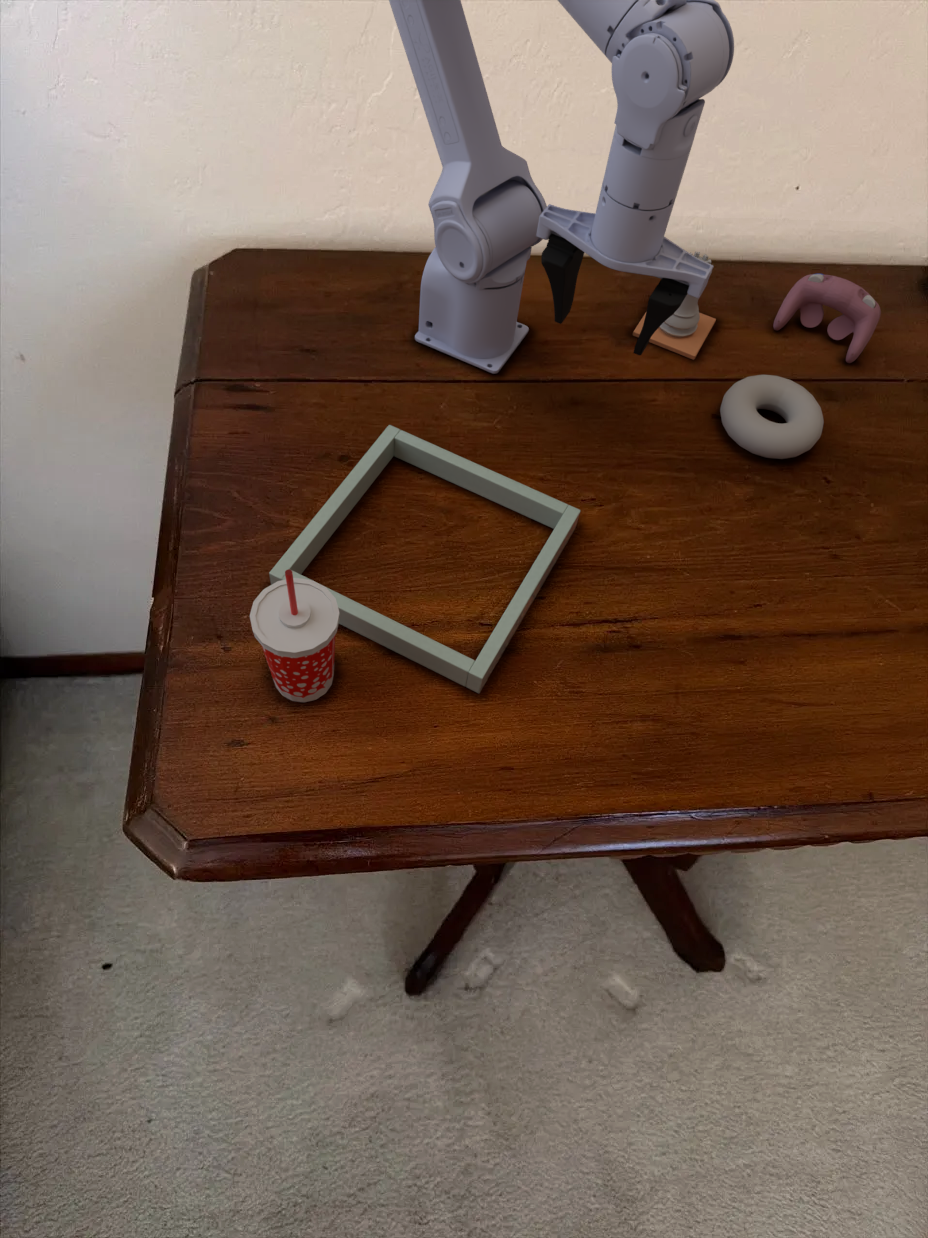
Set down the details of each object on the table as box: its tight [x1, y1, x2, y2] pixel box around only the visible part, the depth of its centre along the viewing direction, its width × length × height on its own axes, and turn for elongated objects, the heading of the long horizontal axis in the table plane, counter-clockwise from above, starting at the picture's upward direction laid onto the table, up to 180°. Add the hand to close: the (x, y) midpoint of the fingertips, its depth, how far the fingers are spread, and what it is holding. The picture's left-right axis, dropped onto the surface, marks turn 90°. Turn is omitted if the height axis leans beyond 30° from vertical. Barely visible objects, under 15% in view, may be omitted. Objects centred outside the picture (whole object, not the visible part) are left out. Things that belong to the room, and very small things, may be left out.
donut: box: [719, 374, 825, 460], centre depth 86 cm, size 10×3×10 cm
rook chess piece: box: [660, 251, 713, 337], centre depth 90 cm, size 4×4×8 cm
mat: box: [632, 312, 717, 361], centre depth 94 cm, size 7×7×1 cm
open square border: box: [268, 424, 582, 694], centre depth 74 cm, size 19×19×2 cm
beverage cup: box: [249, 569, 340, 703], centre depth 62 cm, size 6×6×14 cm
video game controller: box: [772, 272, 882, 364], centre depth 94 cm, size 10×5×7 cm, turn 58°
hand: (601, 332), depth 79 cm, fingers open, 7 cm apart
